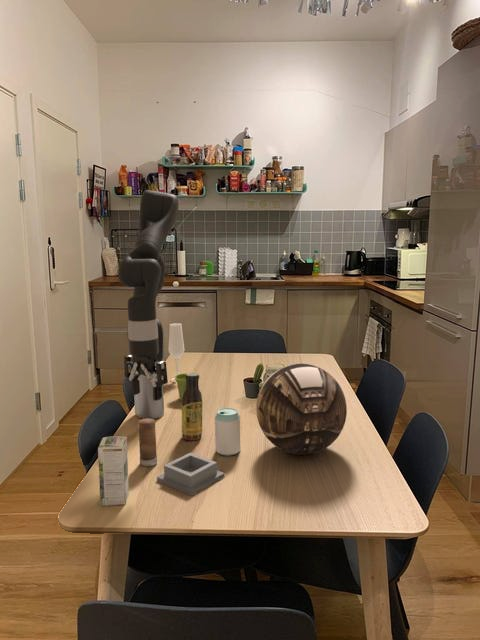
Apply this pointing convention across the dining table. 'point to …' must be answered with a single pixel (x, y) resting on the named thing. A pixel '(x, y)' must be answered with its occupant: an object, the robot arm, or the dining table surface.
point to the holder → (190, 473)
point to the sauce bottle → (192, 408)
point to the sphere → (301, 409)
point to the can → (227, 431)
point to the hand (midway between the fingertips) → (146, 396)
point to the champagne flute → (176, 343)
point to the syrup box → (113, 470)
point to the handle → (147, 443)
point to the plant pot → (181, 383)
